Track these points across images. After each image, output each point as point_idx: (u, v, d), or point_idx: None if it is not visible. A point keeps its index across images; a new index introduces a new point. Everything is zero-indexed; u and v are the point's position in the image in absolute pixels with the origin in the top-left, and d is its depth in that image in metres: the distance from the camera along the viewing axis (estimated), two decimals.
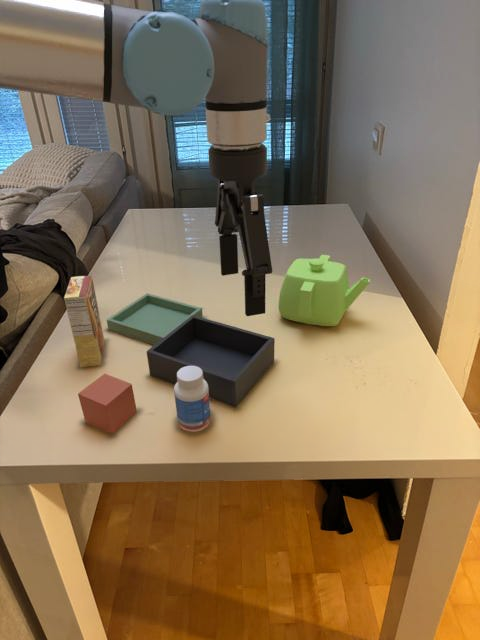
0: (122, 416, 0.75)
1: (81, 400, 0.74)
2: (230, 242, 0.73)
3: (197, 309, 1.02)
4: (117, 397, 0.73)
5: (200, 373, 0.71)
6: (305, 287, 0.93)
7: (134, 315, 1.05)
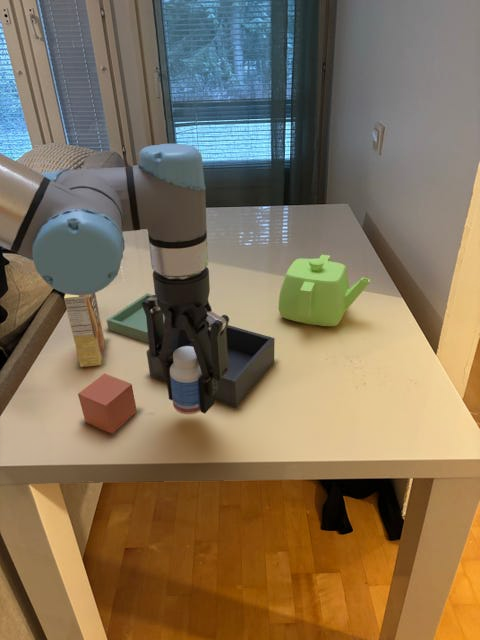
0: (122, 416, 0.75)
1: (81, 400, 0.74)
2: None
3: None
4: (117, 397, 0.73)
5: None
6: (305, 287, 0.93)
7: (134, 315, 1.05)
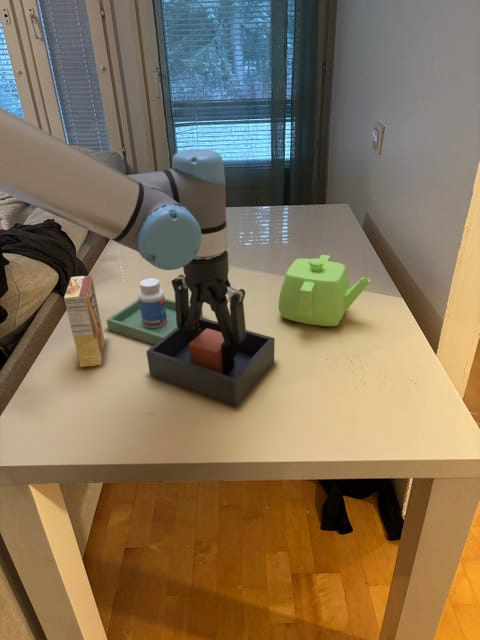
0: None
1: (191, 349, 0.84)
2: None
3: None
4: None
5: (157, 282, 0.97)
6: (305, 287, 0.93)
7: (134, 315, 1.05)
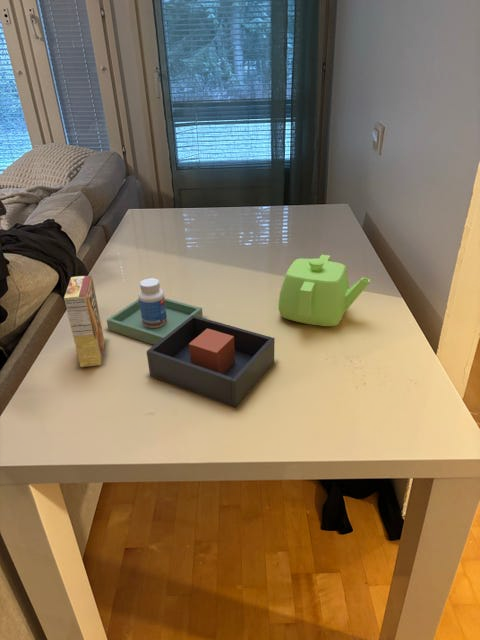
0: (225, 364, 0.85)
1: (191, 349, 0.84)
2: None
3: (197, 309, 1.02)
4: (224, 347, 0.83)
5: (157, 282, 0.97)
6: (305, 287, 0.93)
7: (134, 315, 1.05)
